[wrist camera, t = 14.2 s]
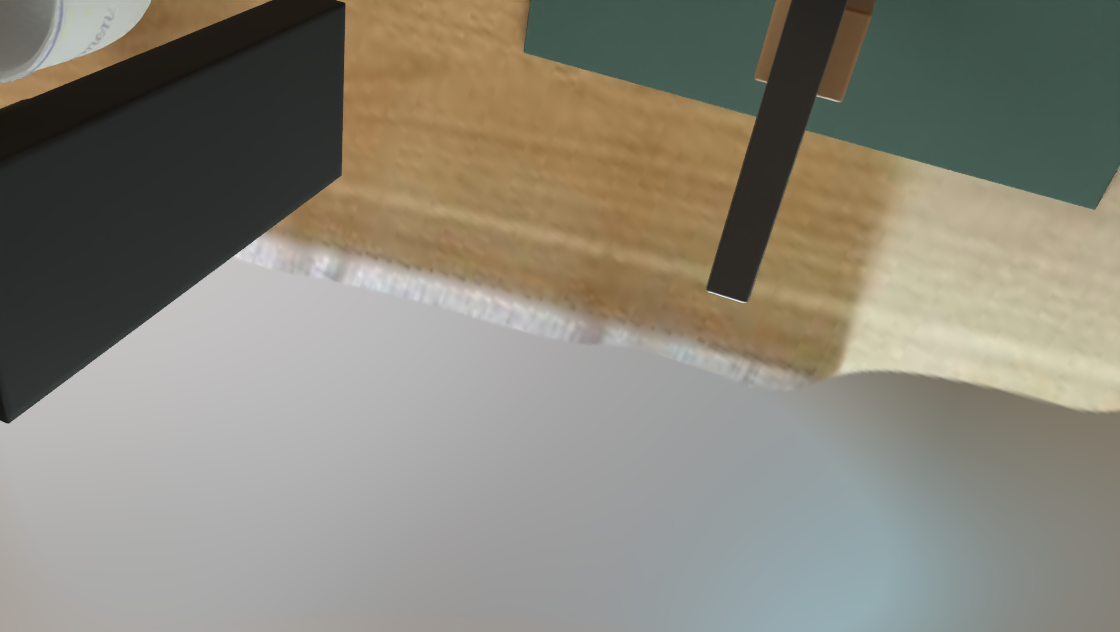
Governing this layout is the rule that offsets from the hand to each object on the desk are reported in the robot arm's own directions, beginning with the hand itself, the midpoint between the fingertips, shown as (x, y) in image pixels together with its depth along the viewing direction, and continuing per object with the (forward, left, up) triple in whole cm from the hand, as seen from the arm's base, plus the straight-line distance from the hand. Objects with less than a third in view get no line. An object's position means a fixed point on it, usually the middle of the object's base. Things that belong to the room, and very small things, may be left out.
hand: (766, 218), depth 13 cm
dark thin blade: (0, 0, -23) cm, 23 cm away
